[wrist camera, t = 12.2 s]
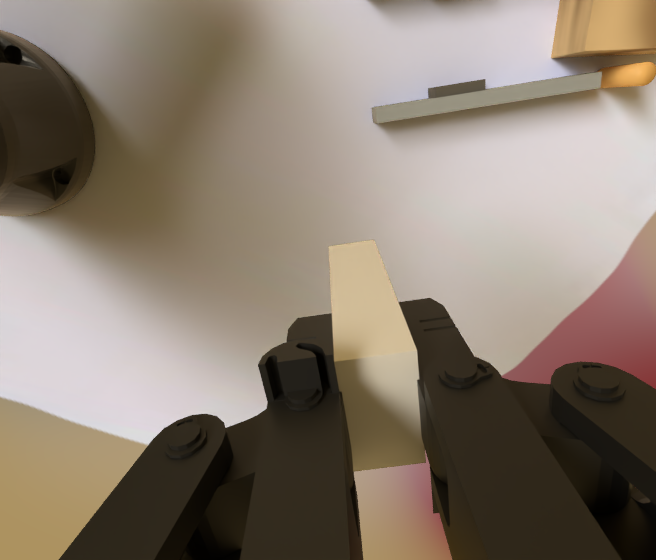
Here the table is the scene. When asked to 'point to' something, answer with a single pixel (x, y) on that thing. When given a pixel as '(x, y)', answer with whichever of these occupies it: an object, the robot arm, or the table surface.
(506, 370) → the table surface
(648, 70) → the chute
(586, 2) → the oak block
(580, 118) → the table surface
